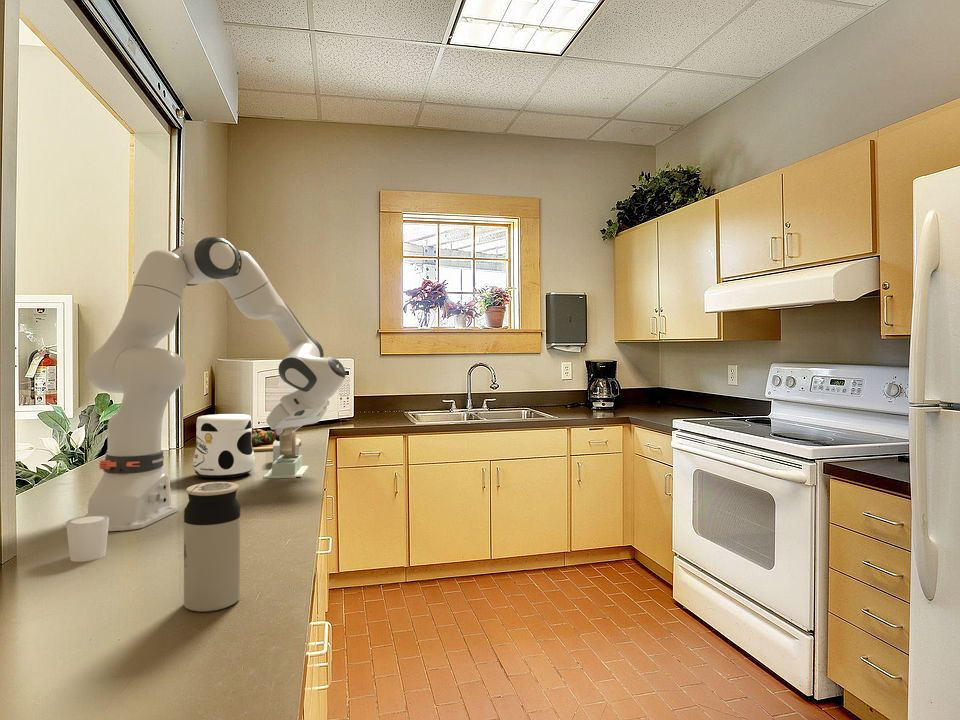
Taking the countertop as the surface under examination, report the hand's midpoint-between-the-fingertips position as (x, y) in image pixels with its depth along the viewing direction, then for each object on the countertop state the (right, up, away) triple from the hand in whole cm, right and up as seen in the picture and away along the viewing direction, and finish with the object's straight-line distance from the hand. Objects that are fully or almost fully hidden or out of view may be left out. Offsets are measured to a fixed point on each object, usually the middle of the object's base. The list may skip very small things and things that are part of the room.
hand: (284, 432), depth 192 cm
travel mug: (+19, -15, -96) cm, 99 cm away
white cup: (-13, -15, -75) cm, 78 cm away
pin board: (0, -13, +3) cm, 13 cm away
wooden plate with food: (-27, -12, +55) cm, 62 cm away
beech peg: (+1, -7, 0) cm, 7 cm away
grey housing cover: (-5, -13, +17) cm, 22 cm away
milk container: (-17, -13, -2) cm, 22 cm away
